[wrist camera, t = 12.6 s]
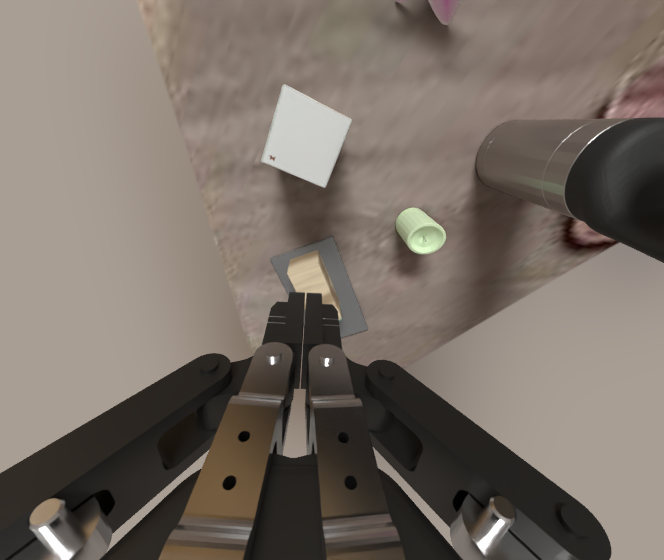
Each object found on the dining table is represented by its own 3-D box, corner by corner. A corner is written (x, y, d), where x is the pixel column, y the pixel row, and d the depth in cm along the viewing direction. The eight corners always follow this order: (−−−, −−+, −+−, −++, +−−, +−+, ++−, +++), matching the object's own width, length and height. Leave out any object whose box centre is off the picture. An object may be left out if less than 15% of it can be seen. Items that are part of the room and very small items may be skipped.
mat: (367, 327, 56) (367, 329, 55) (314, 343, 57) (314, 345, 57) (332, 236, 47) (332, 237, 46) (270, 258, 48) (270, 259, 47)
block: (342, 320, 48) (318, 262, 43) (314, 328, 48) (287, 273, 43) (340, 303, 52) (318, 249, 47) (314, 311, 53) (289, 259, 48)
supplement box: (322, 173, 42) (324, 191, 31) (274, 151, 40) (257, 162, 29) (343, 120, 39) (354, 119, 28) (292, 94, 37) (281, 82, 26)
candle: (409, 243, 48) (425, 264, 41) (388, 224, 46) (402, 243, 39) (432, 221, 46) (454, 239, 39) (412, 200, 44) (430, 215, 37)
